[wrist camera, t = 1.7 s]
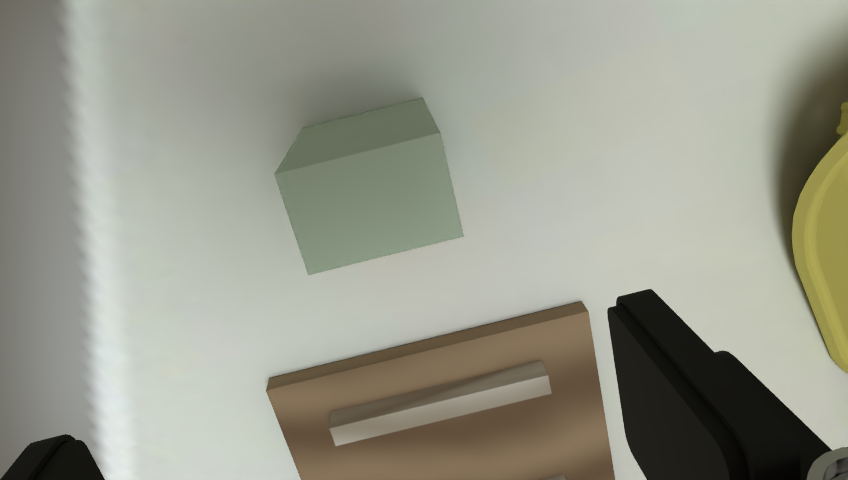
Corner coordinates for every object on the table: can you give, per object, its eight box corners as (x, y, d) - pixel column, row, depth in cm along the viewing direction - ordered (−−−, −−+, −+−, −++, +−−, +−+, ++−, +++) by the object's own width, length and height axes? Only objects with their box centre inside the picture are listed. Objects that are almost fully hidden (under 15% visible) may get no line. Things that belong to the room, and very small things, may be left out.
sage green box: (303, 128, 30) (274, 174, 22) (422, 97, 30) (440, 132, 22) (329, 212, 32) (312, 286, 23) (443, 184, 32) (466, 248, 23)
